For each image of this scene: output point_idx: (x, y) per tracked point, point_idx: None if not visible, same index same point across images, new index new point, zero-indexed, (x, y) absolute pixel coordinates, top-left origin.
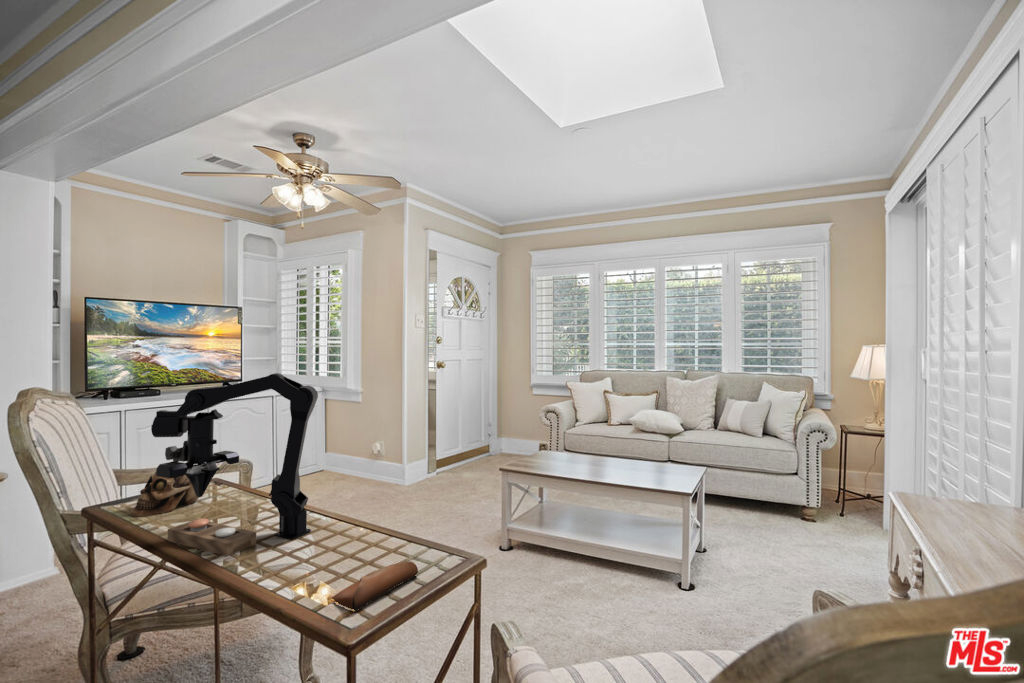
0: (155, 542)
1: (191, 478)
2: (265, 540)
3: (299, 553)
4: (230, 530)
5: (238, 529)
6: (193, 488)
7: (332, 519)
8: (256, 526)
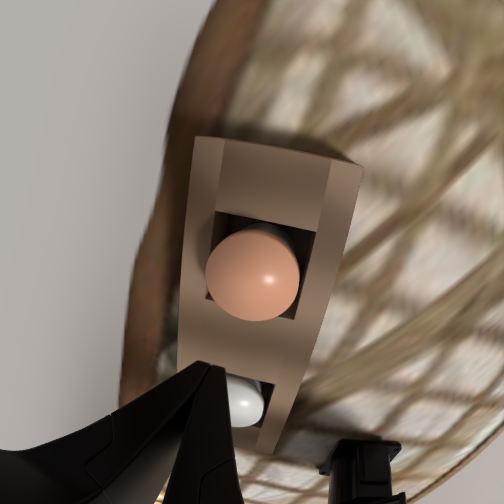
0: (187, 105)
1: (57, 472)
2: (306, 434)
3: (255, 489)
4: (237, 417)
5: (279, 414)
6: (141, 396)
7: (452, 464)
8: (421, 358)
